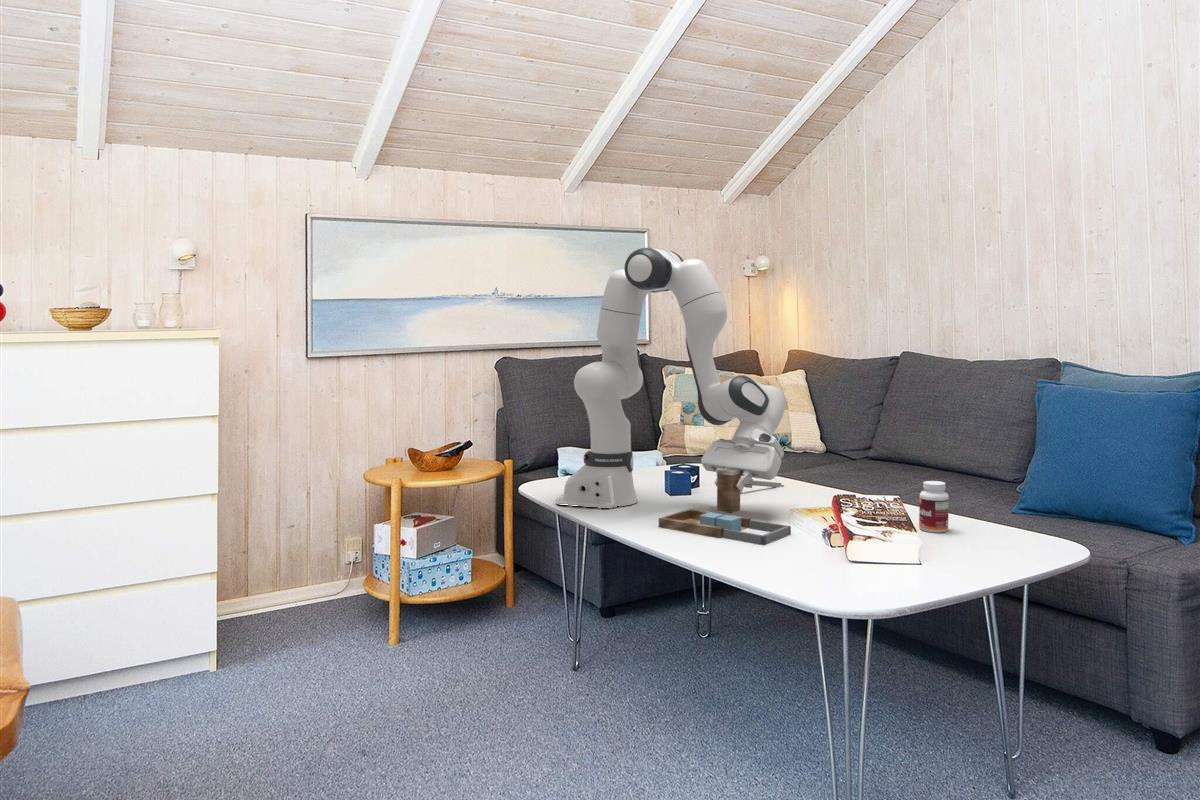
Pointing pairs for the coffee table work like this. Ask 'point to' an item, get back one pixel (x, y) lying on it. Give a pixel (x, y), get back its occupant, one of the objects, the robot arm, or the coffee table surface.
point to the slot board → (696, 523)
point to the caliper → (760, 484)
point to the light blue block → (729, 522)
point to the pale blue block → (709, 518)
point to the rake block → (728, 490)
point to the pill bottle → (933, 507)
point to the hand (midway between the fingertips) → (727, 486)
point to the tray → (775, 534)
